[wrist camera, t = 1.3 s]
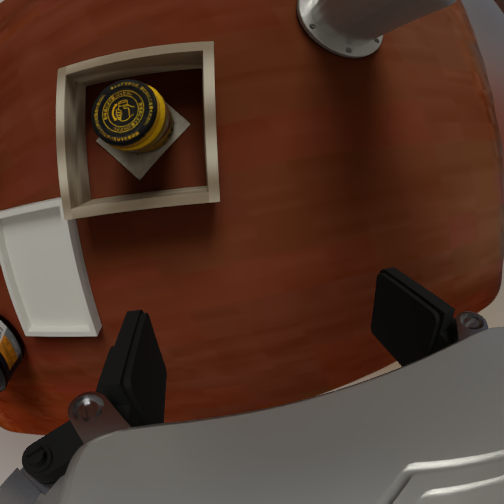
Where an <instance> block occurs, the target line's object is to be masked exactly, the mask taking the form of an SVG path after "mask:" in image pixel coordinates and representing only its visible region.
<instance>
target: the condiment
mask: <svg viewBox="0 0 504 504" xmlns="http://www.w3.org/2000/svg"><path fill="white" fill-rule="evenodd" d="M91 118H92V125H93V129H94V131H95V133H96V135H98V137H99V138H98V139H97V141H96V142H98V143H99V144H100V145H101V146H102V147H103V148H104V149H106V150H107V151H108V152H109V153H110V154H111V155H112V156H113V157H114V158H116V159H117V160H118V161H119V162H120V163H121V164H122V165H123V166H124V167H126V168H127V169H128V170H129V171H130V172H131V173H132V174H133V175H134V176H135V177H136V178H138V179H139V180H140V179H141V178H142V177H143V176H144V175H145V173H146V172H147V171H148V170H149V169H150V168H151V166H152V165H153V164H154V163H155V162H156V161H157V160H158V159H159V157H160V156H161V155H162V154H163V153H164V152H165V151H166V150H167V149H168V148H169V147H170V145H171V144H172V143H173V142H174V141H175V140H176V139H177V138H178V137H179V136H180V135H181V134H182V133H183V132H184V131H185V130H186V129H187V128H188V127H189V126H190V123H189V122H188V121H187V120H185V119H184V118H183V117H182V116H181V115H180V114H179V113H178V112H176V111H175V110H174V109H173V108H172V107H171V106H170V105H168V104H167V103H166V102H165V101H164V99H163V97H162V96H161V95H160V94H159V93H158V92H157V90H156V89H154V88H153V87H151V86H149V85H147V84H144V83H143V82H140V81H137V80H129V79H127V80H119V81H117V82H115V83H113V84H111V85H109V86H108V87H106V88H105V89H104V90H103V91H102V92H101V93H100V95H99V96H98V97H97V99H96V100H95V102H94V104H93V108H92V117H91ZM140 153H142V154H140ZM136 154H139V155H136Z"/></svg>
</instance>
